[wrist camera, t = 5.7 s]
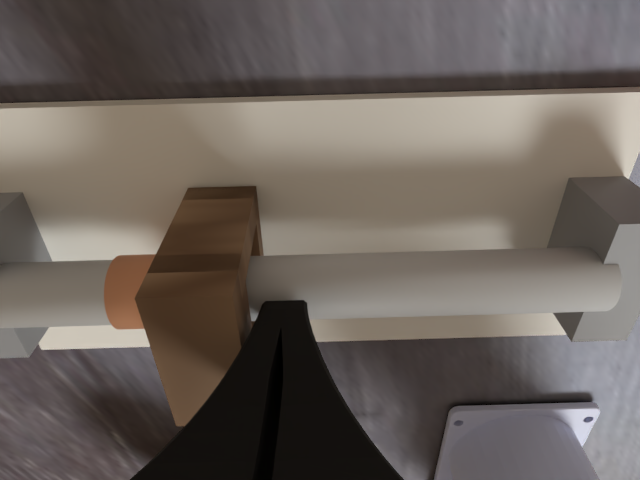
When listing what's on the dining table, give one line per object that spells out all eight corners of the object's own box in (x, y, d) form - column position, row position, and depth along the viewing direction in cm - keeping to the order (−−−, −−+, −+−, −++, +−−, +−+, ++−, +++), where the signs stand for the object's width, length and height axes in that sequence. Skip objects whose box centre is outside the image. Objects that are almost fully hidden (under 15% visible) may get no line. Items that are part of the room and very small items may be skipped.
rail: (651, 86, 15) (765, 136, 11) (560, 325, 21) (615, 409, 17) (-70, 104, 15) (-197, 161, 11) (48, 340, 21) (-9, 427, 17)
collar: (256, 185, 16) (232, 295, 11) (268, 297, 19) (253, 424, 14) (188, 187, 16) (134, 298, 11) (210, 299, 19) (176, 426, 14)
